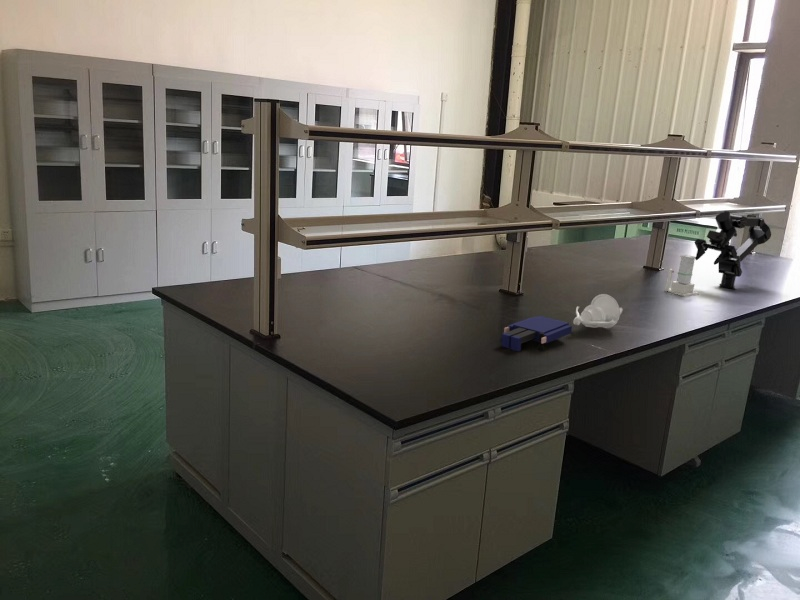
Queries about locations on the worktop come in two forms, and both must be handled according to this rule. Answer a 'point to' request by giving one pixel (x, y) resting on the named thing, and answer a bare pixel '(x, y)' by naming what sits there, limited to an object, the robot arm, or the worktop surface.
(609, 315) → the figurine
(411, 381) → the worktop surface
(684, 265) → the column
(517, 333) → the blue flat boxy piece
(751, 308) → the worktop surface
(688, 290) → the stand
